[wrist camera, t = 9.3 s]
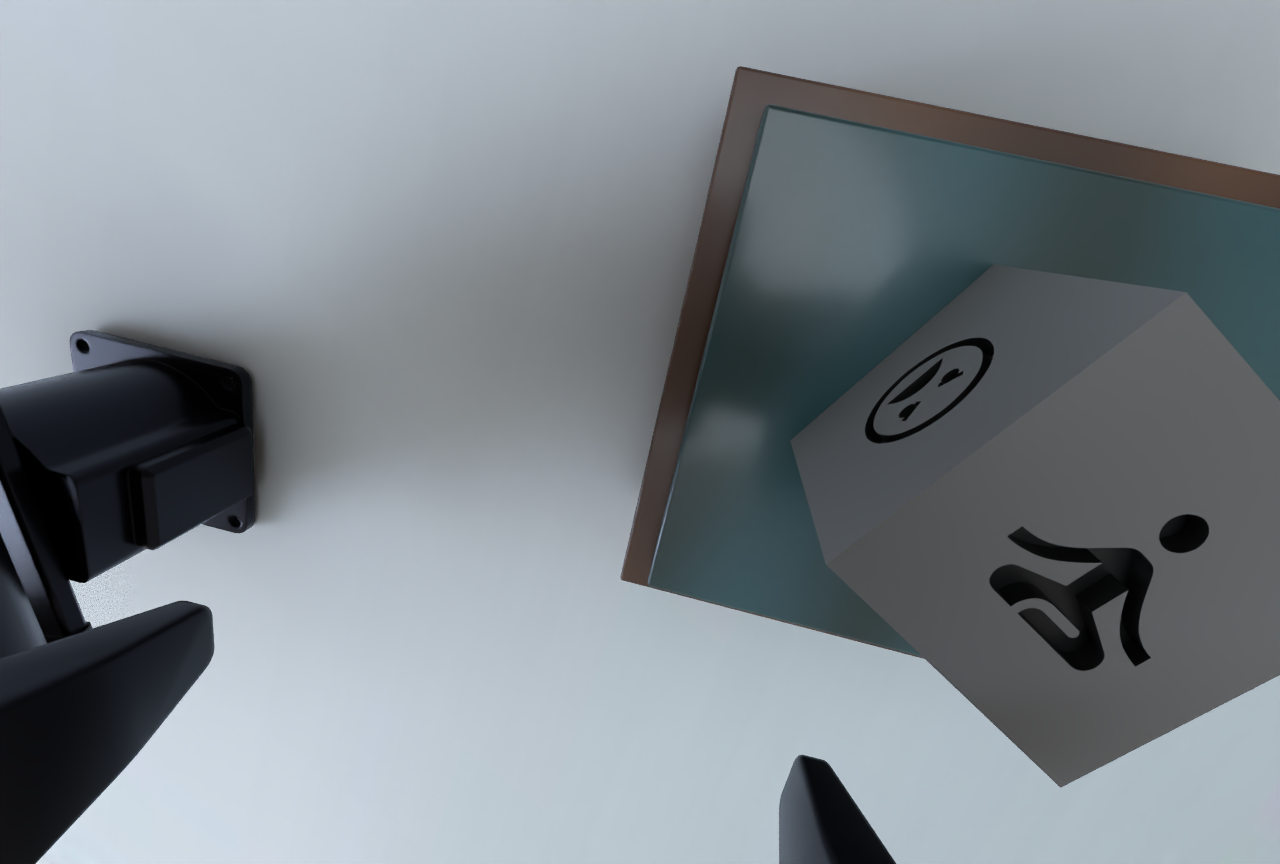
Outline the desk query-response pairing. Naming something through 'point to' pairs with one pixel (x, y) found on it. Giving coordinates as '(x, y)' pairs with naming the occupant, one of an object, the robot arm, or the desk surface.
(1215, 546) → the dice cube
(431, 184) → the desk surface
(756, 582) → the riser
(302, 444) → the desk surface
